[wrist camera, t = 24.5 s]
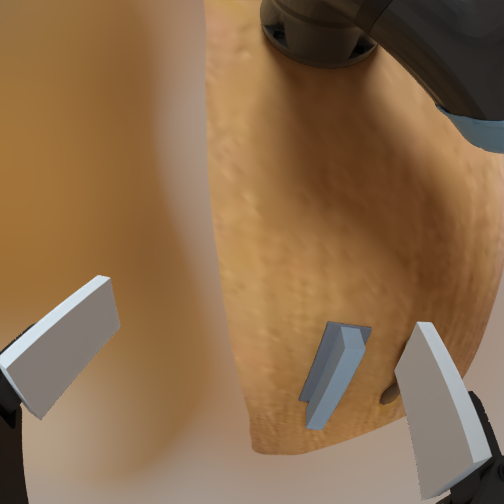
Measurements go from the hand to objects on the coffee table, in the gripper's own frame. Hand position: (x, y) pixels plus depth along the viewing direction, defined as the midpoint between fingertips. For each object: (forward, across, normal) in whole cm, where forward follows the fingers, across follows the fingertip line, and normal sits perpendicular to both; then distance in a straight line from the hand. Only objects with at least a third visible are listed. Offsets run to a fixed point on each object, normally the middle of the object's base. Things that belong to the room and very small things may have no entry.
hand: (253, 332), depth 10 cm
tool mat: (+24, +11, -25) cm, 37 cm away
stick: (+24, +11, -26) cm, 37 cm away
